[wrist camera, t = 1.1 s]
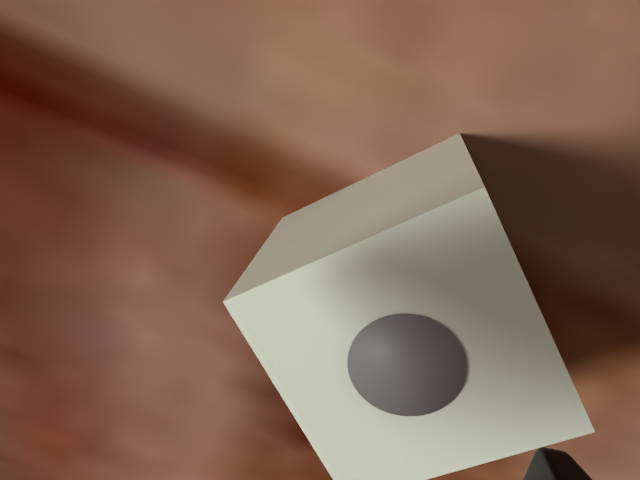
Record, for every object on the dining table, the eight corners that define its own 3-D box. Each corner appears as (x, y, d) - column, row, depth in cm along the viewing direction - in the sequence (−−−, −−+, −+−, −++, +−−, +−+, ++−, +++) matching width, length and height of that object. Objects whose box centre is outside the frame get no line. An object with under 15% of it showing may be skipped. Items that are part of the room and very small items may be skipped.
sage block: (536, 303, 21) (595, 433, 14) (366, 365, 24) (346, 503, 17) (459, 132, 20) (485, 187, 13) (282, 216, 22) (221, 302, 15)
